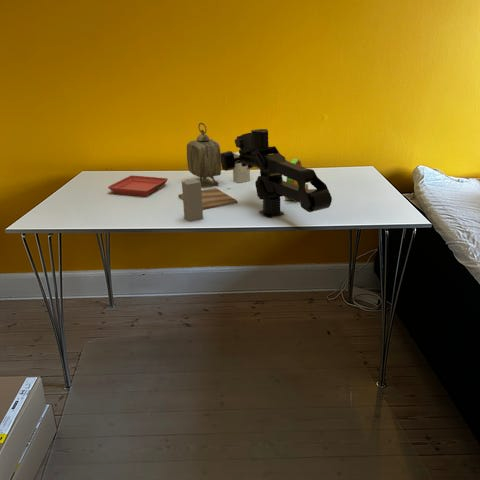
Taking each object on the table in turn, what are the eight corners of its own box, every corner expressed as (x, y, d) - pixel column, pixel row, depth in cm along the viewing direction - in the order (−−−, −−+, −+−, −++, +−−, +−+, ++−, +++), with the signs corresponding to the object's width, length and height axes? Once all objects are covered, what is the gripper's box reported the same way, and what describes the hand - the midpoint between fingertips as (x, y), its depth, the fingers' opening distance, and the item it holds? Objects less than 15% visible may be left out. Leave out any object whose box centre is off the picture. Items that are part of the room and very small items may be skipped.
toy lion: (295, 190, 188) (296, 152, 182) (308, 192, 186) (310, 153, 180) (281, 203, 175) (282, 162, 169) (295, 205, 173) (296, 164, 166)
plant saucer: (131, 182, 204) (130, 174, 203) (169, 185, 199) (168, 177, 197) (107, 195, 189) (106, 187, 188) (147, 199, 183) (146, 190, 182)
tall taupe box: (203, 219, 162) (201, 182, 156) (189, 221, 159) (186, 184, 154) (197, 215, 165) (195, 178, 160) (184, 217, 163) (181, 181, 158)
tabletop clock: (222, 185, 195) (219, 124, 185) (202, 189, 191) (198, 126, 181) (206, 177, 207) (203, 119, 197) (187, 180, 203) (183, 121, 193)
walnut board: (237, 203, 176) (237, 200, 175) (197, 210, 169) (197, 208, 168) (215, 190, 190) (215, 187, 190) (178, 197, 183) (178, 194, 183)
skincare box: (238, 183, 198) (237, 154, 193) (232, 180, 202) (231, 152, 197) (250, 180, 201) (250, 152, 196) (244, 178, 205) (244, 150, 200)
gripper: (275, 130, 167) (250, 127, 179) (230, 141, 158) (207, 137, 171) (278, 161, 171) (253, 156, 184) (234, 173, 162) (212, 167, 175)
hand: (232, 153), depth 178 cm, fingers open, 9 cm apart
